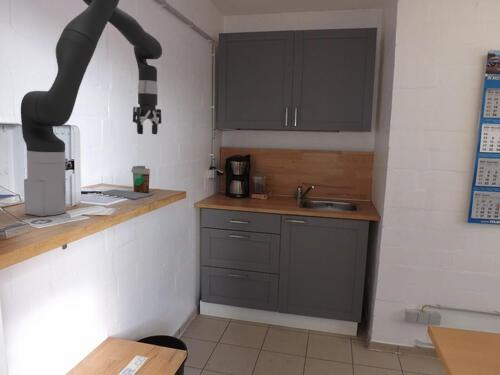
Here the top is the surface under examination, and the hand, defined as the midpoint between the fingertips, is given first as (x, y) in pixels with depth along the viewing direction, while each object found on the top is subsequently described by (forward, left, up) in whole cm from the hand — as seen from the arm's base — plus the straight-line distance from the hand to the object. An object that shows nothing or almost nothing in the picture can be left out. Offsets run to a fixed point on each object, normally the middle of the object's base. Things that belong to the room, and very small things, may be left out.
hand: (147, 134), depth 145 cm
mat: (-14, 0, -23) cm, 27 cm away
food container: (-5, 0, -23) cm, 24 cm away
